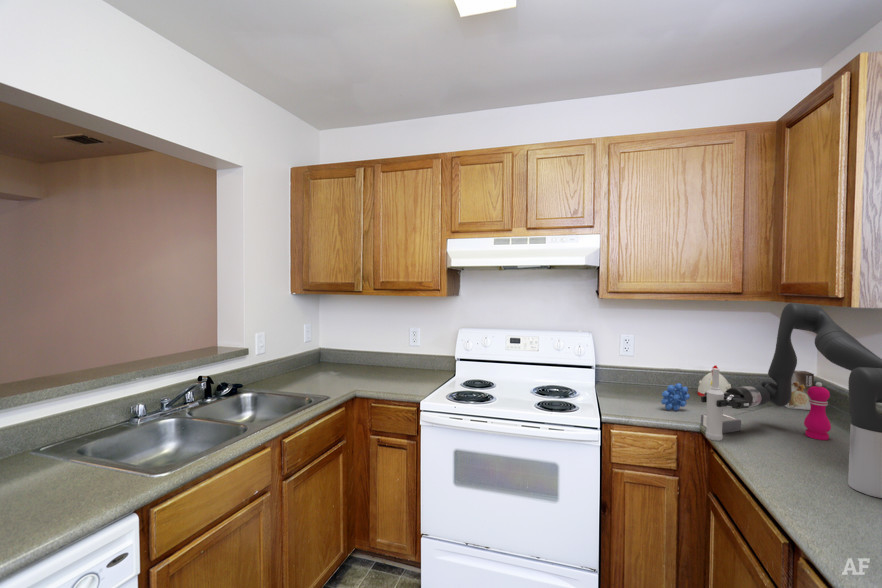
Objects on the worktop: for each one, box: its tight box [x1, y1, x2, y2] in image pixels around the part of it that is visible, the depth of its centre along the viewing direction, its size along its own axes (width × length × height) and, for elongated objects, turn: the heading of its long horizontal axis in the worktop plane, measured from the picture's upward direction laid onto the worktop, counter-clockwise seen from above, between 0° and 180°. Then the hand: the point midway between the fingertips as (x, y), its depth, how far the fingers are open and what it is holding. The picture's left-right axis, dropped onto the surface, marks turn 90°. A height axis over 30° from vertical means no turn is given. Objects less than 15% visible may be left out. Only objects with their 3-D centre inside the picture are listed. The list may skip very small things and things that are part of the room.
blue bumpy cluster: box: [660, 382, 691, 411], centre depth 178 cm, size 12×7×12 cm, turn 84°
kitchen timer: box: [697, 364, 732, 397], centre depth 199 cm, size 14×14×15 cm
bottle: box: [705, 367, 724, 442], centre depth 146 cm, size 5×5×25 cm
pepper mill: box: [803, 381, 832, 441], centre depth 147 cm, size 7×7×20 cm
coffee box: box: [784, 370, 815, 411], centre depth 182 cm, size 9×6×16 cm
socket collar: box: [700, 413, 742, 434], centre depth 156 cm, size 9×9×4 cm
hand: (709, 401), depth 145 cm, fingers closed on bottle, 5 cm apart
